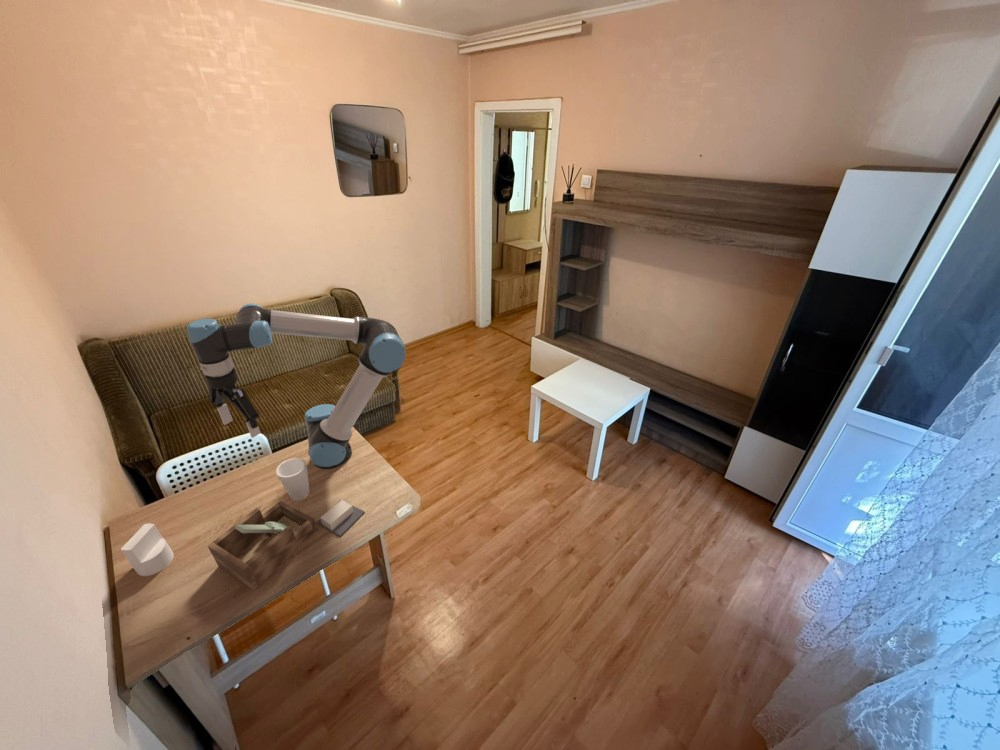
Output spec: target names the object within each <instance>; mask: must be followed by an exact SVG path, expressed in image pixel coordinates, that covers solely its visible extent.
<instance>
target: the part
mask: <svg viewBox="0 0 1000 750" xmlns="http://www.w3.org/2000/svg"><path fill="white" fill-rule="evenodd" d="M340 500H341V501H340ZM340 500H339V501H340V502H339V501H338V502H339V503H338V502H337V503H336V504H335V505H333V506H334V507H333V506H332V507H333V508H332V507H331V508H330V509H329V510H327V511H326V512H325V513H324V514H323V515H321V516H320V518H319V519H321V522H322V524H323V525H324V526H326V527H328V528H329V529H331V530H333V529H334V528H336V527H337V526H338V525H339V524H340V523H341V522H342V521H344V520H345V519H346V518H347V517H348V516H349V515H351V514H352V513H353V512H354V511H353V507H352V504H351V503H348V502H347V501H345V500H344V499H340Z"/></svg>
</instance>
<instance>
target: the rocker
mask: <svg viewBox="0 0 1000 750" xmlns="http://www.w3.org/2000/svg"><path fill="white" fill-rule="evenodd" d="M287 526H289V525H287V524H286V523H284V522H282V521H278V522H265V524H264V525H236V526H235V529H237V530H238V531H240V532H242V533H264V534H266V533H270V534H271V533H276V534H277V535H278V534H279V533H281V532H282V531H283V530H284V529H285V528H286V527H287ZM292 530H293V532H295V531H296V530H297V529H294V528H293V527H292Z"/></svg>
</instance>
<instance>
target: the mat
mask: <svg viewBox="0 0 1000 750" xmlns="http://www.w3.org/2000/svg"><path fill="white" fill-rule="evenodd" d="M341 500H342V499H340V500H339V501H338V502H337V503H339V502H340V501H341ZM351 505H352V504H351ZM334 506H335V505H333V506H332V507H331V508H333V507H334ZM352 507H353V511H354V512H353V513H352V514H351V515H349V516H348V517H347V518H346V519H345V520H344V521H342V522H341V523H340V524H339V525H338V526H337V527H336V528H334V529H333V530H331V529H329V528H328V527H326V526H324V525H323V524H322V522H321V519H320V518H319V519H318V520H317V521H315V522H316V525H317V526H320V527H322V528H323V529H325V530H327V531H329V532H331V533H333V534H335V535H336V536H339V537H342V536H344V534H345V533H346V532H348V530H349V529H350V528H351V527H352V526H353V525H354V524H355V523H356V522H357V521H358V520H359V519H361V517H362V516H363V515H364V514H365V513H366V512H365V510H363V509H361V508H358V507H357V506H354V505H352Z"/></svg>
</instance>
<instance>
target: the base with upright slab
mask: <svg viewBox="0 0 1000 750" xmlns="http://www.w3.org/2000/svg"><path fill="white" fill-rule="evenodd" d="M120 550H121V552H122V553H123V555H124V556H125V558H127V561H128V563H129V565H130V566H131V567H132V568H133V569H134V571H135V572H136V573H137V574H138V575H139V576H140V577H150V576H153V575H155V574H157V573H158V574H159V573H160V572H161V571H163V570H164V569H165V568H167V567H168V566H169V565H170V564H171V562H172V561H173V559H174V555H175V554H174V552H173V550H172V548H171V546H170V545H169V543H168V542H167V540H166V539H165V538H164V537H163V535H161V532H159V530H158V528H157V526H156V524H154V523H144V524H143V525H142V526H141V527H140V528H139V529H138V530H137V531H136V532H135V533H134V534H133V535H132V537H130V539H129V540H128V541H127V542H126V543H125V544H124V545H123V546H122V547H121V548H120Z"/></svg>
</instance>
